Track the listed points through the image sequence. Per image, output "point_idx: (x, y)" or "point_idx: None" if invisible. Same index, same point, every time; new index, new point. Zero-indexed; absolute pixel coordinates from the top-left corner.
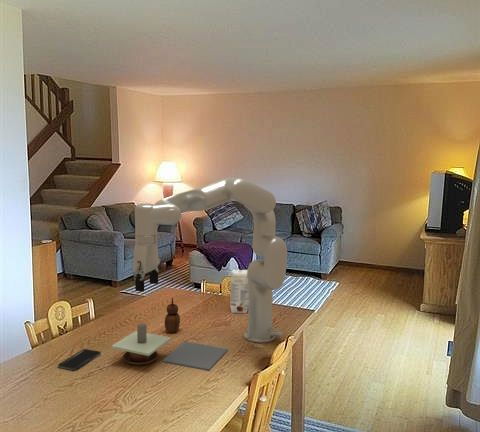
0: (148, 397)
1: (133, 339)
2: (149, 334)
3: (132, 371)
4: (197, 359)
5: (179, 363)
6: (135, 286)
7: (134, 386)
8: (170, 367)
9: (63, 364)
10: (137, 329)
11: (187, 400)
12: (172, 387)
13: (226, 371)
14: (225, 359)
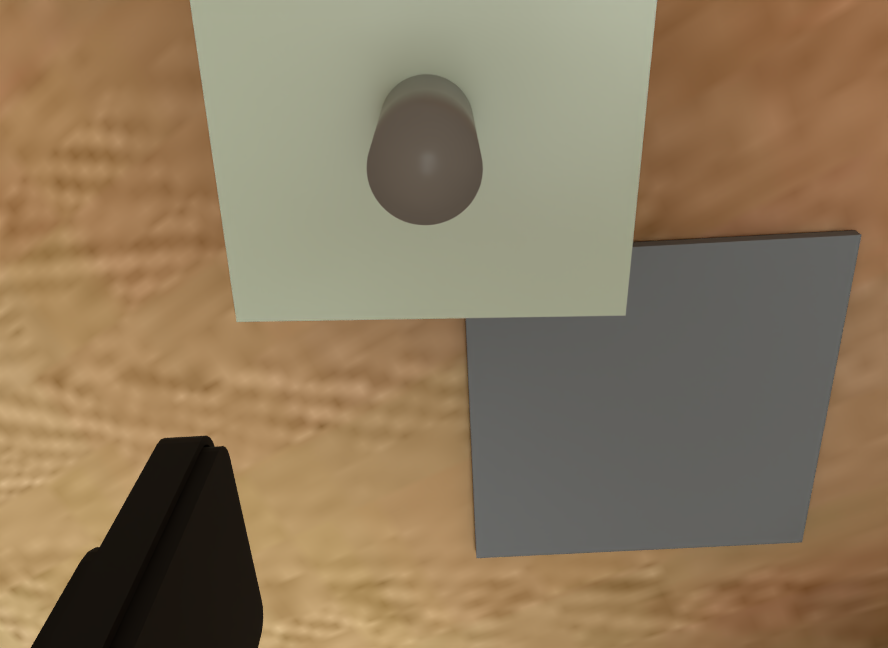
0: (17, 421)
1: (435, 3)
2: (623, 85)
3: None
4: (574, 453)
5: (470, 383)
6: (120, 514)
7: (60, 281)
8: (411, 344)
9: None
10: (380, 124)
11: None
12: None
13: (510, 620)
14: (659, 566)
